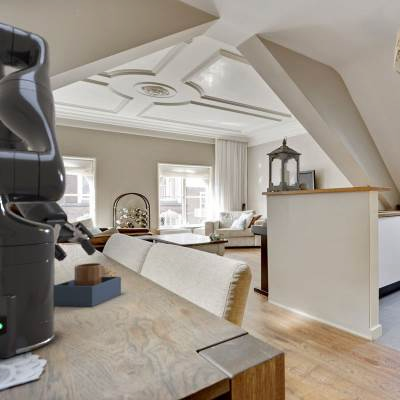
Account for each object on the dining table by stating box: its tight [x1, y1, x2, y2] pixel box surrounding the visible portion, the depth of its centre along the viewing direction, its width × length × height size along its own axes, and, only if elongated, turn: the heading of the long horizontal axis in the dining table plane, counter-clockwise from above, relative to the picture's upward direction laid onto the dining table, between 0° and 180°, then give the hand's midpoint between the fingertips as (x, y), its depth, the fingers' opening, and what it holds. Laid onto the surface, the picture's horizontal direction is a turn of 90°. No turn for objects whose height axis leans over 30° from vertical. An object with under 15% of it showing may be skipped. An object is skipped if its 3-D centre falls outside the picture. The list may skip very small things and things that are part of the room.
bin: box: [54, 276, 122, 307], centre depth 78 cm, size 10×10×5 cm
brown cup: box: [74, 262, 103, 286], centre depth 79 cm, size 6×6×8 cm
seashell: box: [101, 265, 118, 277], centre depth 100 cm, size 8×6×8 cm
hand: (79, 255), depth 79 cm, fingers open, 8 cm apart
